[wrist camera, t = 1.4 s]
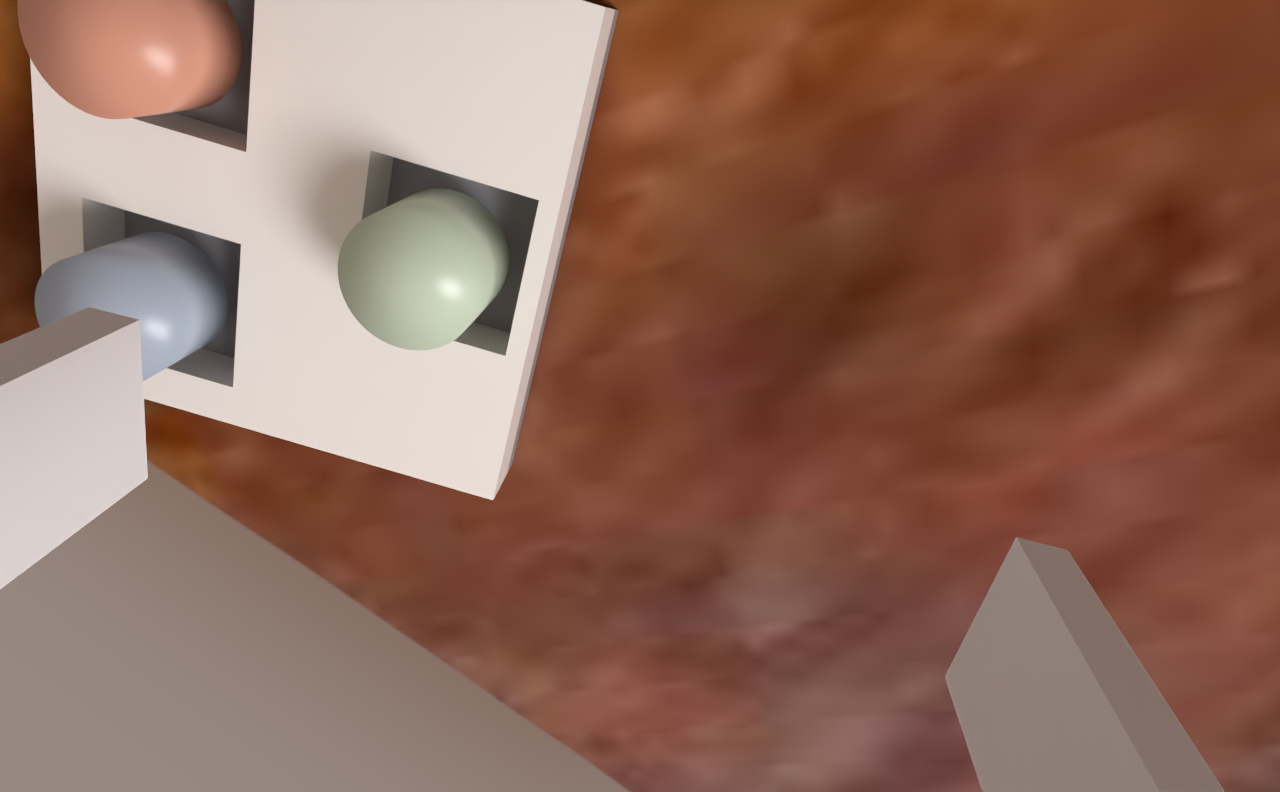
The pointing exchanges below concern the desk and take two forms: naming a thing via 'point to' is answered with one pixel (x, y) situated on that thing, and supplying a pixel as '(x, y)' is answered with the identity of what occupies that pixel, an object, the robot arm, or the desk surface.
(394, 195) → the console
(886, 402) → the desk surface
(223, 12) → the terracotta button
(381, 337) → the sage button
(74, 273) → the slate button
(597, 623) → the desk surface
